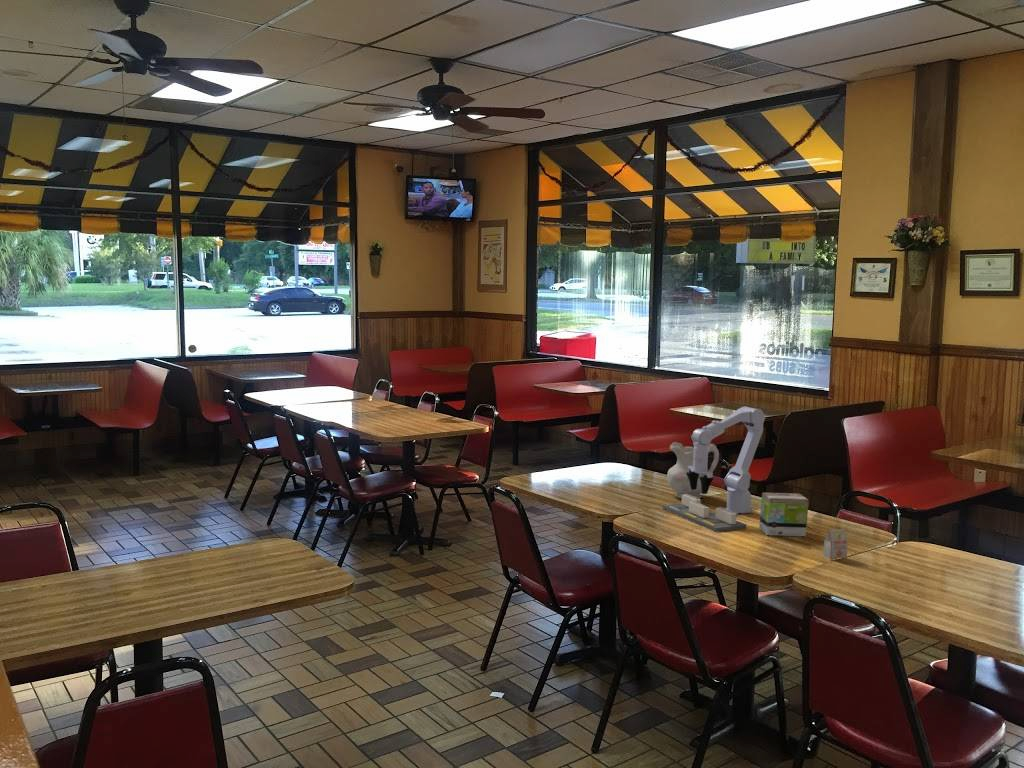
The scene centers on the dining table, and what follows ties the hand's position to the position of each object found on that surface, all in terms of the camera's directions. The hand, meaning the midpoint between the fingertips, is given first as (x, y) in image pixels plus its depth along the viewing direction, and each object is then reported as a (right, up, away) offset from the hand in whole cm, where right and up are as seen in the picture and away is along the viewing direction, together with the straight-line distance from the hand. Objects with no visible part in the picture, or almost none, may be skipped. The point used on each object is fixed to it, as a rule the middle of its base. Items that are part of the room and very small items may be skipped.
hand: (699, 491), depth 351 cm
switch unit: (+1, -10, -4) cm, 11 cm away
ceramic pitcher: (+3, -7, +31) cm, 32 cm away
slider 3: (+7, -10, -14) cm, 18 cm away
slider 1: (-2, -7, +7) cm, 10 cm away
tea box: (+27, -13, -22) cm, 37 cm away
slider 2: (-1, -9, -5) cm, 10 cm away
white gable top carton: (+36, -17, -52) cm, 65 cm away
